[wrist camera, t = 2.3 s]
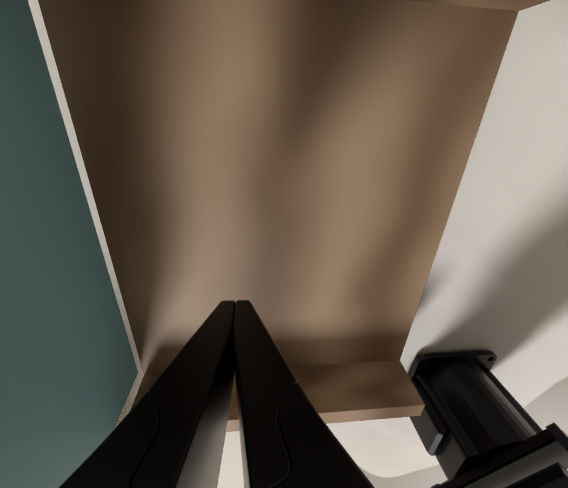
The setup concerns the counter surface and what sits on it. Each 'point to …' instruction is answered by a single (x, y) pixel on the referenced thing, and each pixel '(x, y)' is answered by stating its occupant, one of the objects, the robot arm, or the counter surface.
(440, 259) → the counter surface
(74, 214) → the teal flat rectangular block
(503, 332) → the counter surface
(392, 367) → the flatbed
